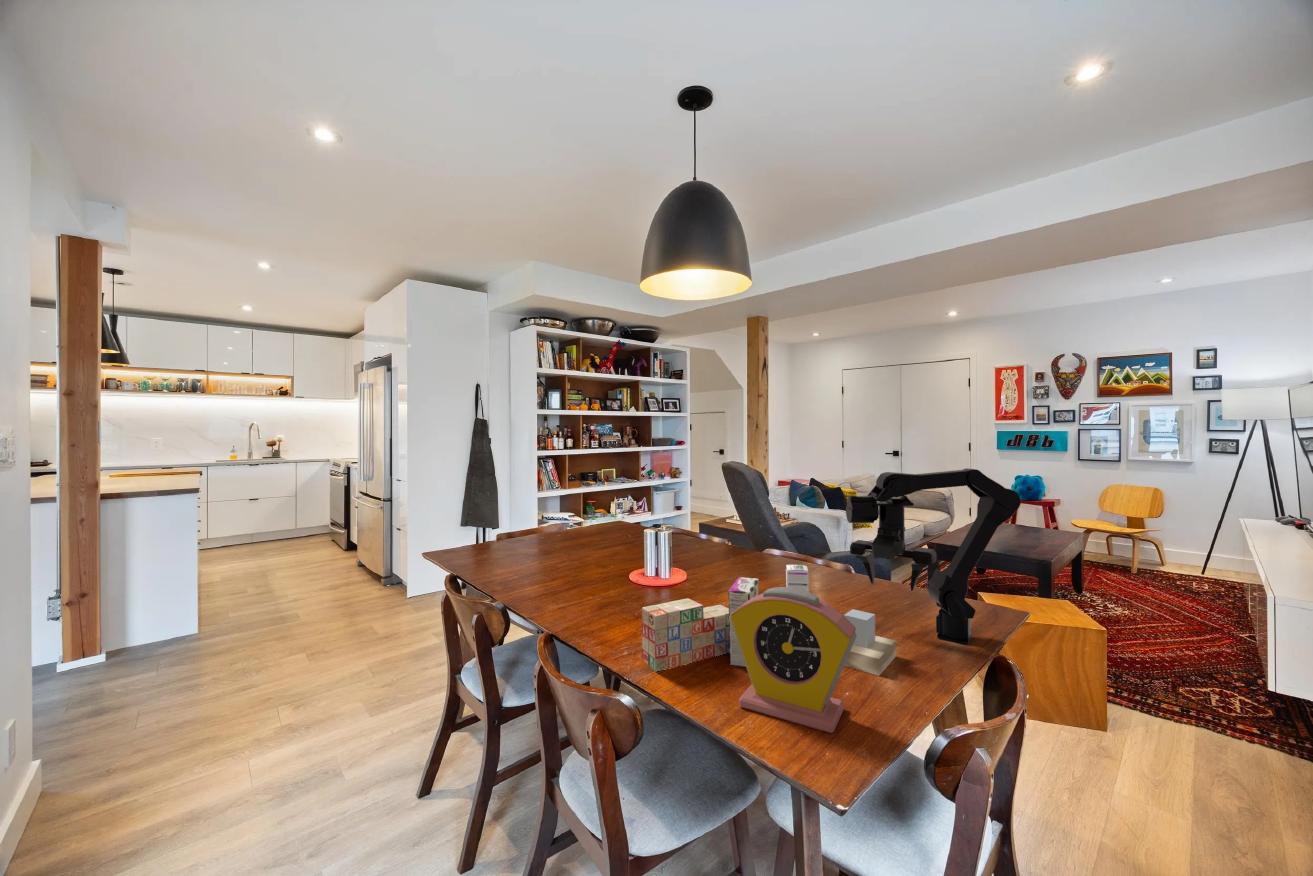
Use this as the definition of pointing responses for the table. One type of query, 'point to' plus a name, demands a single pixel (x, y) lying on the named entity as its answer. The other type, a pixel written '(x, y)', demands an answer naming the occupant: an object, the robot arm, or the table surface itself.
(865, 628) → the slate block
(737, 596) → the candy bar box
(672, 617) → the stack of blocks
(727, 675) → the table surface
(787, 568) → the syrup box
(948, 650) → the table surface
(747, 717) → the table surface
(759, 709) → the yellow mantel clock
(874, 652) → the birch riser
